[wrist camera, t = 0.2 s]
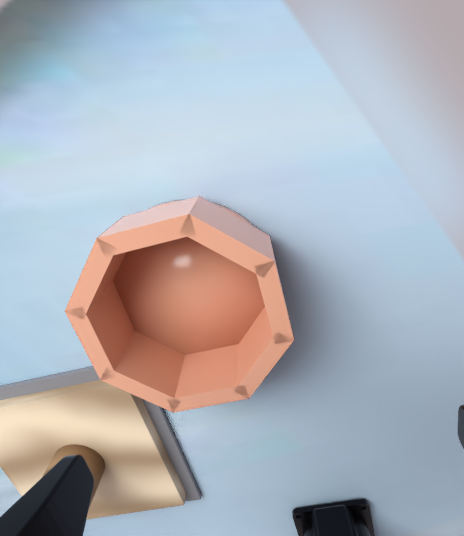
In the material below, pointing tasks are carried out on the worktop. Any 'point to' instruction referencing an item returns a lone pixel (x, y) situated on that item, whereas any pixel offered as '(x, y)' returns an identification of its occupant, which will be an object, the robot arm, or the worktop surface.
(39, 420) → the lid
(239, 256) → the bowl
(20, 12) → the worktop surface
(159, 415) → the mat
